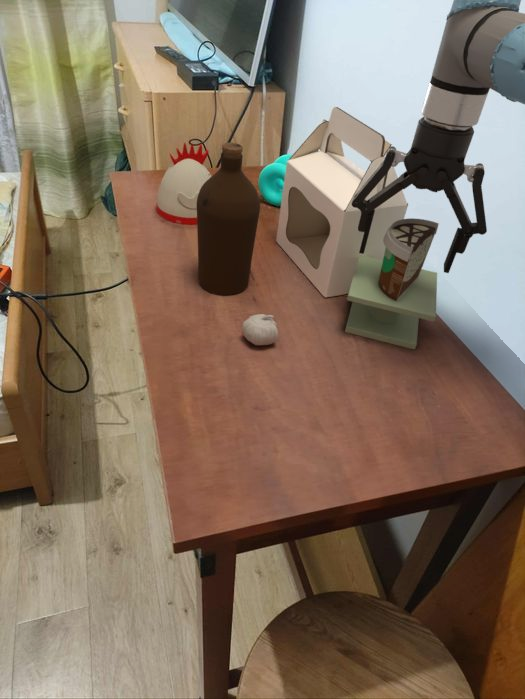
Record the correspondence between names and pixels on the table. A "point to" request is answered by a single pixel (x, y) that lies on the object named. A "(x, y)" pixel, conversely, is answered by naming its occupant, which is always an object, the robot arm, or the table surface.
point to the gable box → (334, 203)
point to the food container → (405, 254)
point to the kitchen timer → (182, 186)
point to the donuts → (273, 180)
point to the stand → (389, 306)
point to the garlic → (260, 329)
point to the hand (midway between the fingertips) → (403, 259)
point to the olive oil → (227, 226)
